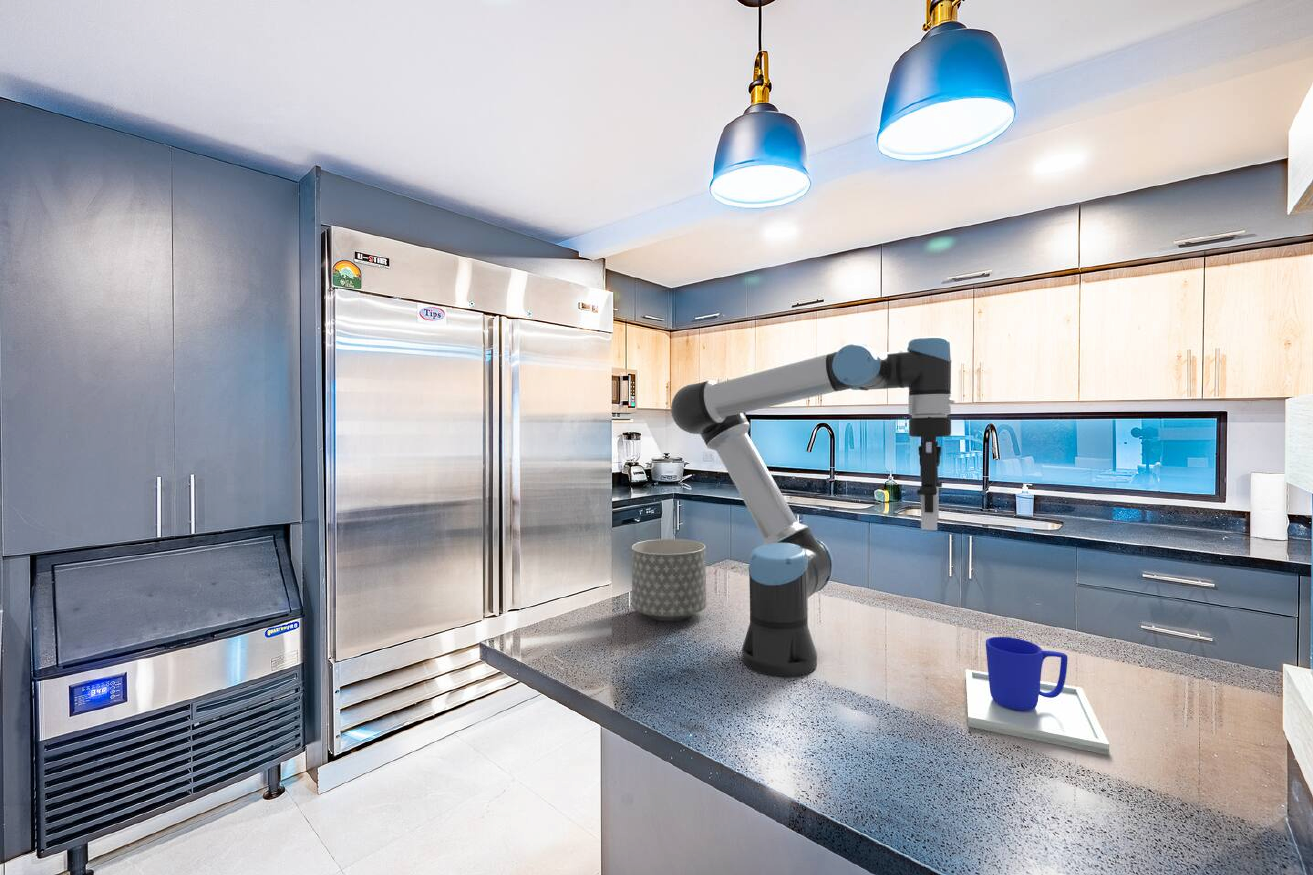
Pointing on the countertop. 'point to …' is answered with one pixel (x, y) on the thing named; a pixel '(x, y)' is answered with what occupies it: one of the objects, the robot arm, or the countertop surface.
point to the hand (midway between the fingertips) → (930, 524)
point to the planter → (669, 578)
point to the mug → (1019, 672)
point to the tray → (1037, 716)
